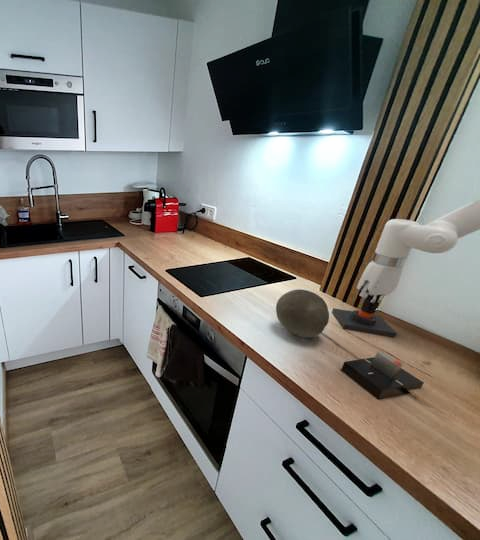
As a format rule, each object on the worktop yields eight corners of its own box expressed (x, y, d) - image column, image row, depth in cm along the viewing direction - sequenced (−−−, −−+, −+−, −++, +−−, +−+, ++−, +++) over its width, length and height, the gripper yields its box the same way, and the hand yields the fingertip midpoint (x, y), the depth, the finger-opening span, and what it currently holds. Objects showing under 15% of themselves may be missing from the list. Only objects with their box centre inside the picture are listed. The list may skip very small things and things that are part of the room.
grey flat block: (376, 323, 100) (381, 311, 98) (392, 341, 91) (399, 328, 89) (330, 315, 104) (334, 303, 102) (341, 332, 94) (346, 319, 92)
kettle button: (368, 314, 97) (370, 310, 96) (373, 320, 93) (375, 315, 93) (355, 312, 98) (357, 308, 97) (360, 317, 94) (362, 313, 94)
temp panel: (378, 364, 80) (382, 355, 79) (418, 391, 72) (424, 382, 70) (340, 370, 78) (344, 361, 77) (377, 399, 69) (383, 389, 68)
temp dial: (370, 365, 76) (377, 350, 74) (375, 364, 76) (382, 350, 74) (390, 379, 71) (398, 364, 69) (395, 378, 71) (403, 363, 70)
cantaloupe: (303, 321, 100) (316, 283, 94) (330, 347, 87) (347, 305, 81) (263, 320, 100) (274, 282, 94) (284, 346, 87) (298, 303, 81)
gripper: (394, 254, 92) (373, 304, 100) (357, 257, 89) (338, 307, 97) (421, 263, 86) (397, 315, 93) (381, 265, 83) (360, 319, 90)
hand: (367, 311), depth 95 cm, fingers closed
